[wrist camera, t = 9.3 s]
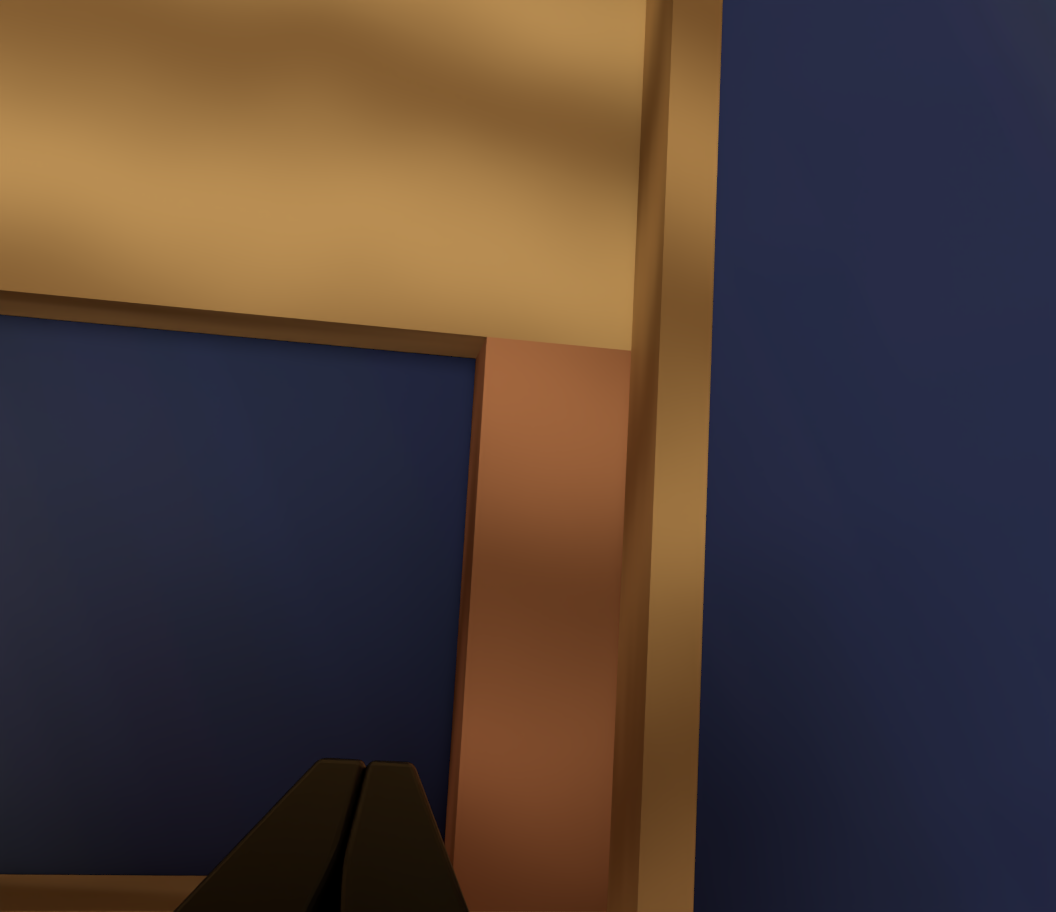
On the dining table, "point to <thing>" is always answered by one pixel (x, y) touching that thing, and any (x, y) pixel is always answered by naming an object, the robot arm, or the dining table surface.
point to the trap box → (436, 345)
